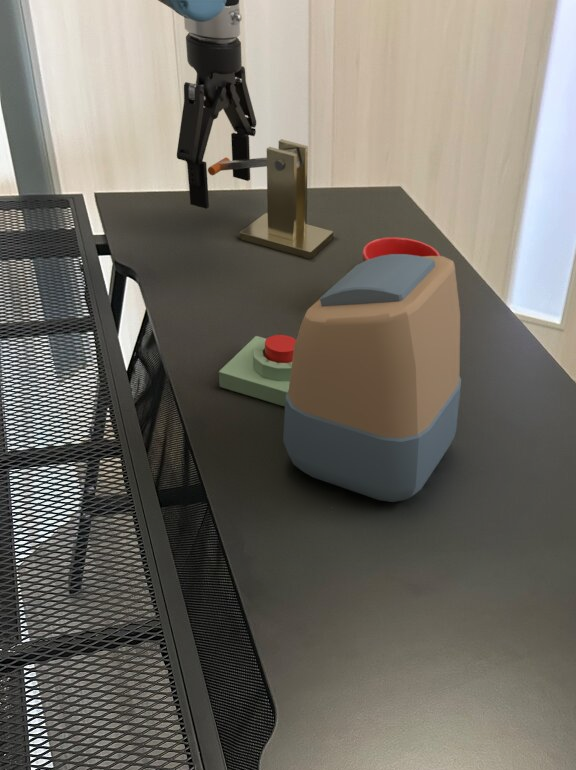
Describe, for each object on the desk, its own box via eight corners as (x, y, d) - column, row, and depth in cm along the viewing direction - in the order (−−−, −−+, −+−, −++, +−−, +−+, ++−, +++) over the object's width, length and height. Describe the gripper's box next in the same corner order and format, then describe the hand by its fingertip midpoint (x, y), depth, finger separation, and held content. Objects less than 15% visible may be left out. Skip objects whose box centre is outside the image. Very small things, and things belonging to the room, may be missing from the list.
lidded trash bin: (336, 403, 106) (345, 215, 90) (461, 444, 104) (493, 259, 87) (271, 476, 95) (267, 275, 78) (410, 524, 92) (436, 327, 76)
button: (259, 358, 104) (259, 345, 103) (273, 344, 107) (273, 331, 106) (289, 367, 104) (289, 354, 103) (303, 352, 107) (303, 340, 105)
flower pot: (343, 309, 123) (347, 242, 116) (405, 295, 129) (412, 231, 122) (384, 344, 118) (390, 276, 111) (447, 328, 123) (456, 263, 116)
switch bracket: (240, 239, 134) (236, 145, 124) (265, 220, 140) (264, 129, 130) (310, 259, 133) (312, 166, 123) (333, 238, 139) (336, 148, 129)
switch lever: (210, 179, 131) (205, 163, 130) (226, 170, 135) (221, 153, 133) (290, 172, 126) (286, 155, 125) (304, 162, 130) (300, 145, 128)
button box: (219, 387, 105) (217, 358, 102) (256, 350, 112) (255, 322, 109) (309, 414, 104) (309, 385, 101) (340, 375, 111) (342, 348, 108)
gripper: (192, 60, 110) (203, 225, 125) (277, 25, 128) (278, 173, 143) (140, 47, 111) (157, 212, 126) (231, 13, 128) (237, 162, 144)
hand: (221, 191), depth 134 cm, fingers open, 13 cm apart
